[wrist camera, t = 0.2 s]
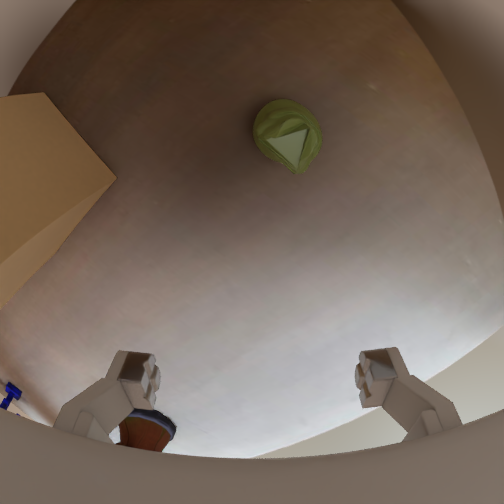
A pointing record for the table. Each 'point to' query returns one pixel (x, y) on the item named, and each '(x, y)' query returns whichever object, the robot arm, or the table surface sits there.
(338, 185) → the table surface
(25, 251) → the bin
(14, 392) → the figurine
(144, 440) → the mug
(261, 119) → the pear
